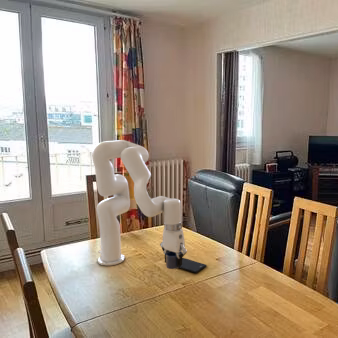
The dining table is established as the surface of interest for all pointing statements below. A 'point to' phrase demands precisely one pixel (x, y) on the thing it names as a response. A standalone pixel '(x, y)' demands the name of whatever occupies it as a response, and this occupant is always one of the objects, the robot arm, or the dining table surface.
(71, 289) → the dining table surface
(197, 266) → the cell phone
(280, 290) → the dining table surface
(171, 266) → the blue plastic cup
